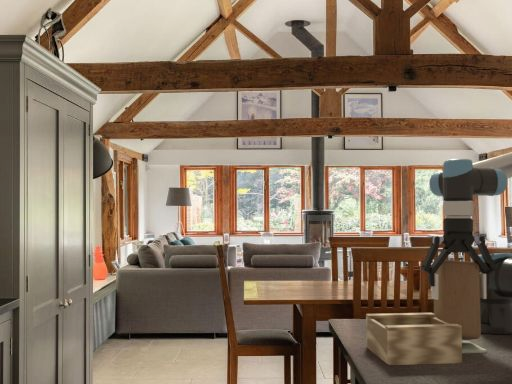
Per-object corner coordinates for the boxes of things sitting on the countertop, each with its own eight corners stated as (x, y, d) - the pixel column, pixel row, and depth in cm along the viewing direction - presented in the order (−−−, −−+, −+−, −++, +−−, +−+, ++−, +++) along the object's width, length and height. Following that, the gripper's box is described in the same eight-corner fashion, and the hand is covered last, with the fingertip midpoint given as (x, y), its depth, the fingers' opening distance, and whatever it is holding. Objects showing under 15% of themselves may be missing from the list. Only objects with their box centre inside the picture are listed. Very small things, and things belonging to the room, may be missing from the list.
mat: (468, 343, 160) (468, 341, 160) (486, 352, 150) (486, 350, 150) (433, 344, 159) (433, 342, 159) (449, 353, 149) (449, 351, 149)
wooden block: (482, 339, 150) (480, 261, 155) (442, 335, 150) (442, 258, 156) (470, 340, 159) (468, 267, 165) (432, 337, 160) (432, 264, 166)
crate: (431, 345, 158) (431, 312, 158) (461, 362, 140) (461, 325, 140) (366, 347, 156) (366, 313, 156) (388, 365, 138) (388, 327, 138)
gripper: (494, 217, 160) (495, 295, 160) (408, 217, 158) (408, 297, 157) (509, 217, 153) (510, 299, 152) (418, 217, 150) (419, 301, 150)
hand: (458, 298), depth 155 cm, fingers open, 12 cm apart
